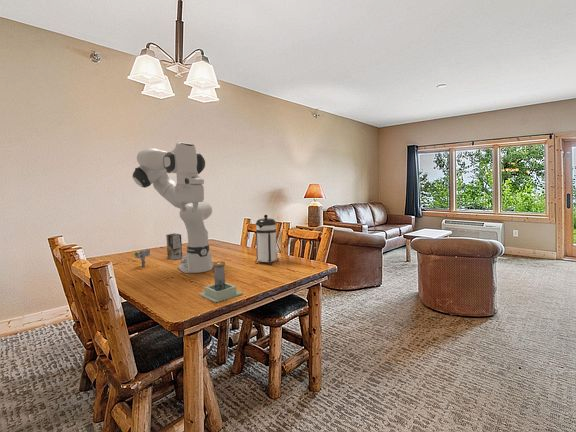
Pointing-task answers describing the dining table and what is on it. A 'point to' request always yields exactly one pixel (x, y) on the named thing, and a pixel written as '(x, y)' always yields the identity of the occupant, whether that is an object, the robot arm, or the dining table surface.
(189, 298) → the dining table surface
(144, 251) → the mechanical component
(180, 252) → the coffee box
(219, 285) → the pin
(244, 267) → the dining table surface
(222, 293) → the green square tray
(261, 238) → the coffee press
